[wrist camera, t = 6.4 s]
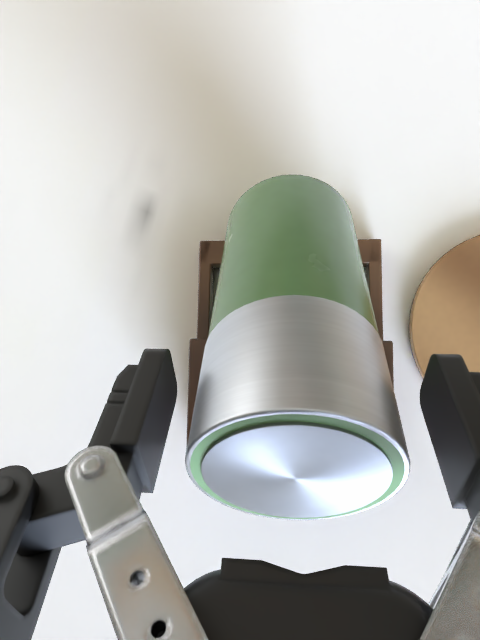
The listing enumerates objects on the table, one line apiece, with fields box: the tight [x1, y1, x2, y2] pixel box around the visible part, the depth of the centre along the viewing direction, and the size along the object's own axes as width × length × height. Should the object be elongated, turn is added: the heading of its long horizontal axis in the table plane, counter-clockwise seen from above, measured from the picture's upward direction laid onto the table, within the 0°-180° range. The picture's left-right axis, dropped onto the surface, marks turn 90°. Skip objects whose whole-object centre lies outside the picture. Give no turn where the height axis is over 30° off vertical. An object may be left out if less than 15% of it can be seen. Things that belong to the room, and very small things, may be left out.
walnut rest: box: [187, 239, 394, 444], centre depth 21 cm, size 10×9×3 cm
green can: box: [185, 175, 410, 520], centre depth 16 cm, size 12×6×13 cm, turn 179°
